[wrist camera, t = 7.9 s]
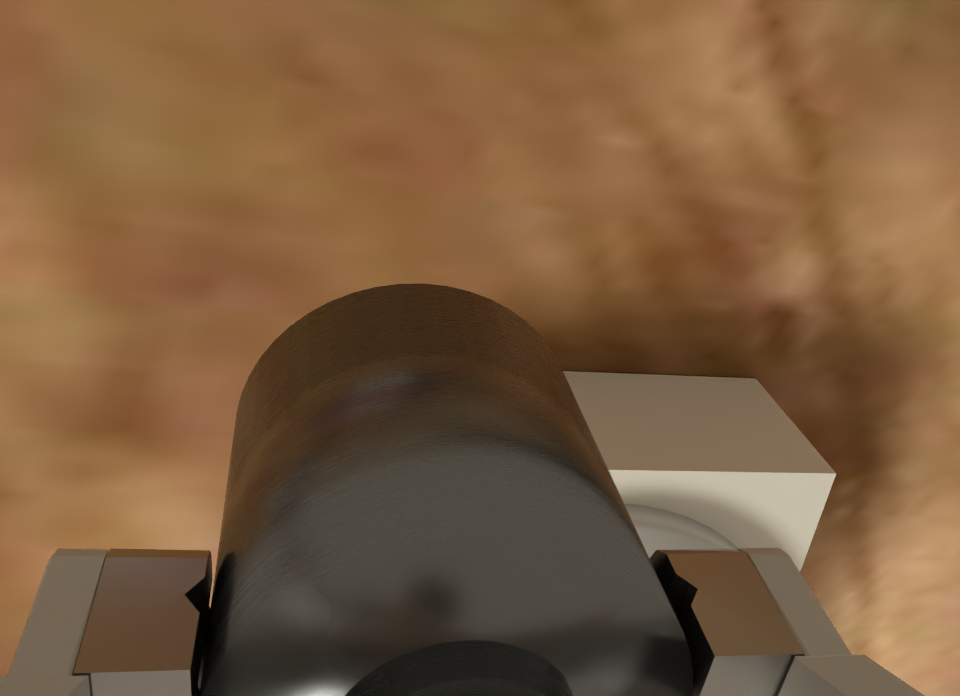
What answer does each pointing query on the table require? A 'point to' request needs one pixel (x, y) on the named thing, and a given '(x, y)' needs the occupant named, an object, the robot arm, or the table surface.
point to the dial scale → (705, 461)
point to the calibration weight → (428, 519)
